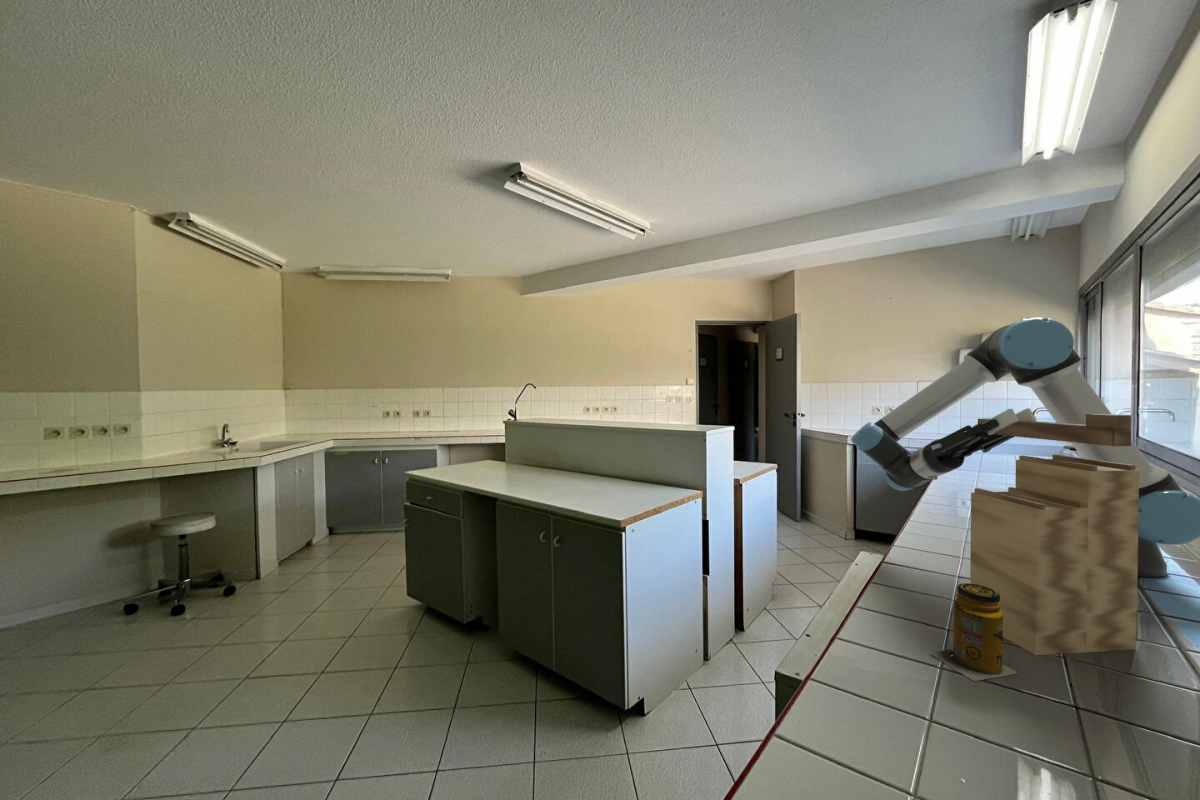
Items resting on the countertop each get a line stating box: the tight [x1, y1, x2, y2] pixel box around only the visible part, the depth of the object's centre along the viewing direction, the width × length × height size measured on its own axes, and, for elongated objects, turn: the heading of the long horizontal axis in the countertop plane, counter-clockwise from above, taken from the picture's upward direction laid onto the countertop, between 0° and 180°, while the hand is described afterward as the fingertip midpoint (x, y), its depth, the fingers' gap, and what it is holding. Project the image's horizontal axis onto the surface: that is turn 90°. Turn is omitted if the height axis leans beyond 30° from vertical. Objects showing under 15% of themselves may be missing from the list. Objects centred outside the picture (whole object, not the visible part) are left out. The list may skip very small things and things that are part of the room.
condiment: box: [929, 582, 1019, 682], centre depth 71 cm, size 7×8×12 cm
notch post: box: [969, 454, 1139, 656], centre depth 80 cm, size 18×12×31 cm, turn 94°
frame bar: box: [977, 413, 1132, 446], centre depth 84 cm, size 3×24×5 cm, turn 4°
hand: (1022, 414), depth 88 cm, fingers closed on frame bar, 3 cm apart
